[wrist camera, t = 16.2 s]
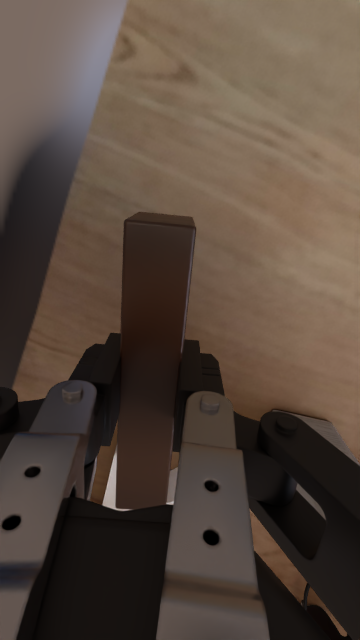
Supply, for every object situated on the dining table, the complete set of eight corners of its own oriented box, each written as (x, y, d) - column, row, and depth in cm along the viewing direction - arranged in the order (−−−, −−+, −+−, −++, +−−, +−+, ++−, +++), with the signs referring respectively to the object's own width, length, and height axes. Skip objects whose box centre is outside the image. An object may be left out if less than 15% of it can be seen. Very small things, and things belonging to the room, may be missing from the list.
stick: (137, 211, 12) (123, 218, 9) (193, 216, 12) (196, 226, 9) (126, 453, 16) (114, 509, 13) (168, 456, 16) (165, 513, 13)
